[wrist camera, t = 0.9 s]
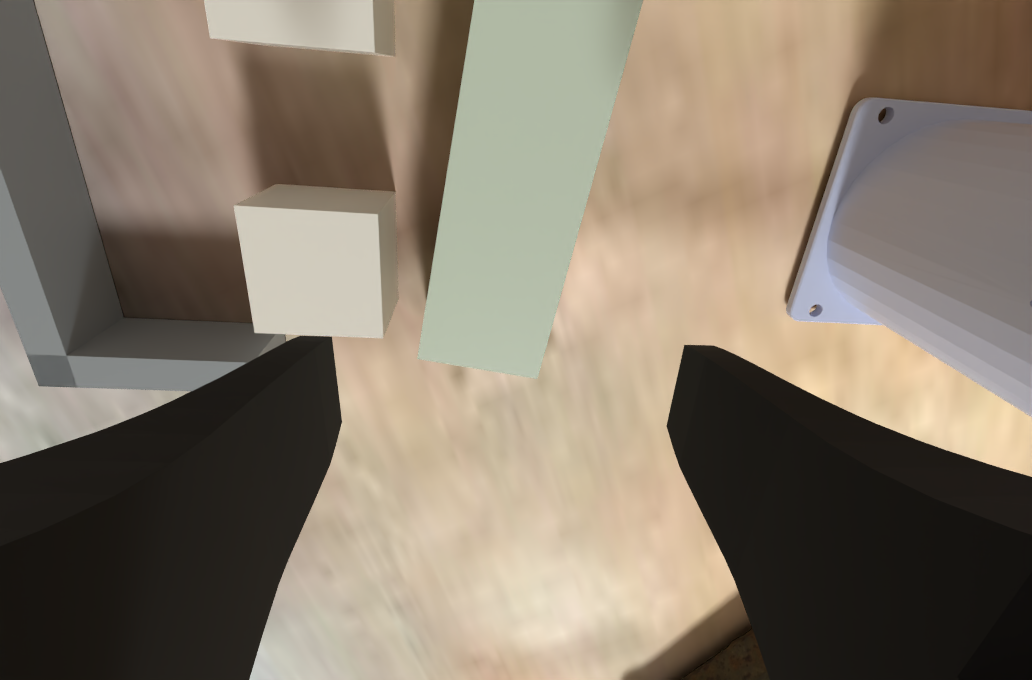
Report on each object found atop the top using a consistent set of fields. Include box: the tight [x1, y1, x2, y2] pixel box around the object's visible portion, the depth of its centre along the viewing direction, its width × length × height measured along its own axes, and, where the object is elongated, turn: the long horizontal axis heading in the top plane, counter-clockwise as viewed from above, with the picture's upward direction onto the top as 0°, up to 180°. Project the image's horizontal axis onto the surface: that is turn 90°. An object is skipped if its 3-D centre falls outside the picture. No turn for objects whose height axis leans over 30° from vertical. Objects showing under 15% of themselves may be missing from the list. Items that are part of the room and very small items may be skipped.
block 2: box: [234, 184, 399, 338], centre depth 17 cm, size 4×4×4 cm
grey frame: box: [0, 0, 286, 391], centre depth 15 cm, size 7×17×3 cm, turn 176°
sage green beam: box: [417, 0, 643, 379], centre depth 16 cm, size 4×14×4 cm, turn 167°
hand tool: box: [681, 629, 770, 680], centre depth 29 cm, size 19×4×5 cm, turn 141°
